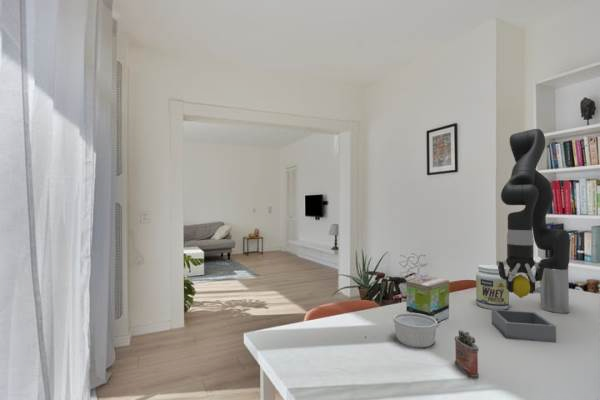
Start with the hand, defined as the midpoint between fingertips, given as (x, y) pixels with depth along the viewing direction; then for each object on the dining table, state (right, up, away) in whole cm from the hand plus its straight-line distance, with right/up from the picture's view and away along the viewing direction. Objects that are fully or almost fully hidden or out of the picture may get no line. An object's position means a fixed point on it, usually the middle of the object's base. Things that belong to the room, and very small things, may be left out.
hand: (520, 292), depth 112 cm
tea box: (-26, -14, +13) cm, 33 cm away
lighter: (-32, -14, -26) cm, 43 cm away
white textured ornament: (+39, -14, +52) cm, 67 cm away
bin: (0, -13, 0) cm, 13 cm away
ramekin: (-38, -14, -7) cm, 41 cm away
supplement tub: (+7, -14, +28) cm, 32 cm away
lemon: (0, -2, 0) cm, 2 cm away
